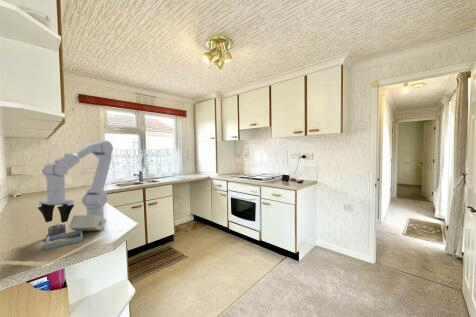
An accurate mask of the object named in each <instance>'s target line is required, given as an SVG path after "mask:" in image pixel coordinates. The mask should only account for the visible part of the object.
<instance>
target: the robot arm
mask: <svg viewBox="0 0 476 317" xmlns="http://www.w3.org/2000/svg"><path fill="white" fill-rule="evenodd" d="M113 150H114V147H113V145H112V142H110V141H109V140H102V141H100V140H99V141H96V140H95V141H93V140H92V141H90V142H89V143H87V144H86V145H84V146H83V147H81V149H78V150H77V151H76V152H74V153H72V152H70V153H65V154H63V155H64V156H62V157H60V158H59V159H55V160H54V162H50V163H47V164H45V165H44V167H43V169H41V171H42V173H43V175H44V176H45V180H46V199H42V200H39V201H38V207H37V209H38V210H39V212H40V213H41V214H42V217H43V219H44V222H45V223H50V222H52V221H53V218H54V217H53V216H54V209H55V206H57V209H58V212H59V215H60V222H61V224H64V223H66V222H68V220H69V217H70V215H71V211H72V210H73V209H74V206H75V205H74V199H66V184H65V178H66V177H65V176H66V175H67V174H68V172H69V170H70V169H72V168H74V167H75V166H77V165H78V164H79V163H80V162H81V159H83V158H85V157H86V156H88V155H90V154H92V155H93V156H95V157H96V158H97V159H98V163H97V166H96V169H95V173H94V176H93V180H92V185H91V187H90V188H89V189H88V190H86V191H85V194H84V195H83V197H82V199H81V202H82V204H83V205H84V208H85V210H86V211H85V212H86V215H99V216H100V217H102V218H104V213H105V212H104V206H105V205H106V204H107V201H108V197H107V196H108V195H107V194H108V192H107V190H105V184H106V181H107V178H108V177H107V176H108V174H109V170H110V166H111V162H112V153H113ZM104 219H105V218H104Z"/></svg>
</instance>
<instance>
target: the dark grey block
mask: <svg viewBox="0 0 476 317" xmlns="http://www.w3.org/2000/svg"><path fill="white" fill-rule="evenodd" d="M55 225H56V224H54V225H52V226H48V227H47V235H45V236H46V237H45V239H47V238H48V236H52V235H58V234H63V233H66V230H67V228H66V227H67V226H66V223H65V224H64V223H60V224H59V225H60V227H56V228H55Z"/></svg>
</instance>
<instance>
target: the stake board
mask: <svg viewBox="0 0 476 317" xmlns="http://www.w3.org/2000/svg"><path fill="white" fill-rule="evenodd" d="M54 225H55V228H56V227H60V225H59V222H57V223H55V224H54ZM73 231H75V230H73V229H68V230H67V229H66V233H68V232H73ZM46 240H47V239H46V238H45V239H44V241H46Z"/></svg>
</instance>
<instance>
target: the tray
mask: <svg viewBox="0 0 476 317" xmlns="http://www.w3.org/2000/svg"><path fill="white" fill-rule="evenodd" d="M77 235H80V236H79V237H74V238H70V239H65V240H61V241H57V242H56V241H55V242H51V243H50V241H53V240H58V239H62V238H68V237H72V236H77ZM83 239H84V238H83V231H82V230H78V231H73V232H68V233H63V234H58V235H52V236H48V238H47V240H45V242H44V245H43V248H44V250H49V249H53V248H57V247H63V246H66V245H71V244H74V243H80V242H83V241H84V240H83Z"/></svg>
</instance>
